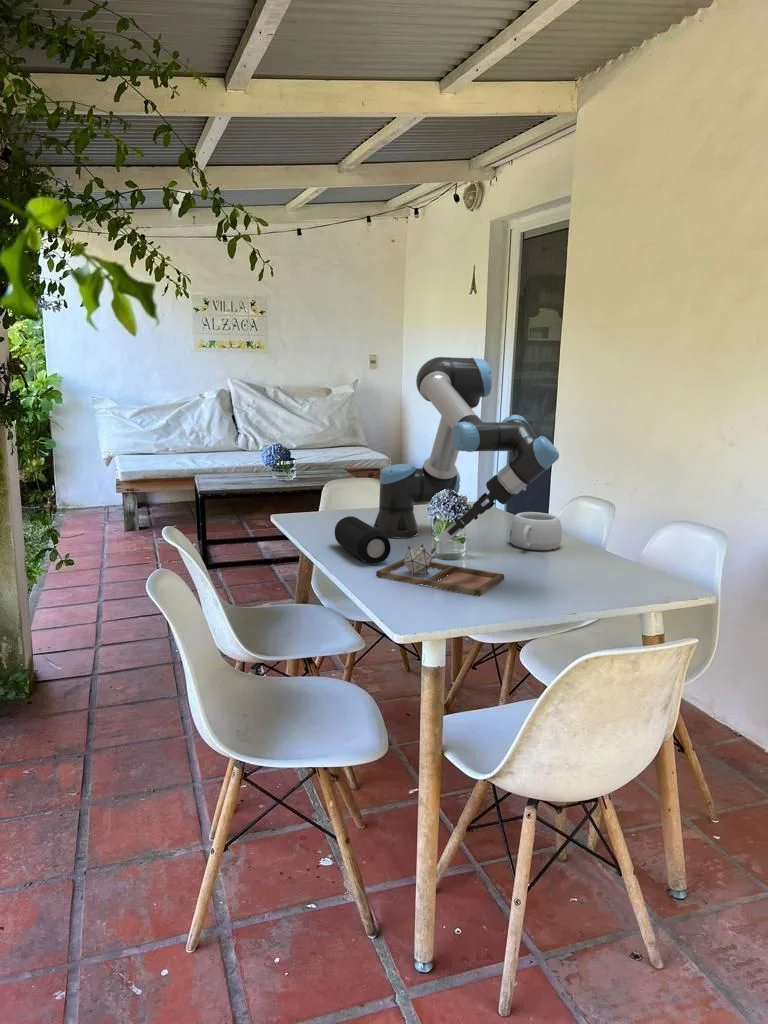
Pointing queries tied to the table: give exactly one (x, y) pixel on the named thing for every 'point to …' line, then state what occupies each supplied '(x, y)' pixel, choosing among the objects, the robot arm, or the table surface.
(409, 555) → the game die
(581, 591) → the table surface
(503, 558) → the table surface
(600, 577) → the table surface
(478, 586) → the dice tray
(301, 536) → the table surface
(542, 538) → the mug
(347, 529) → the portable speaker
